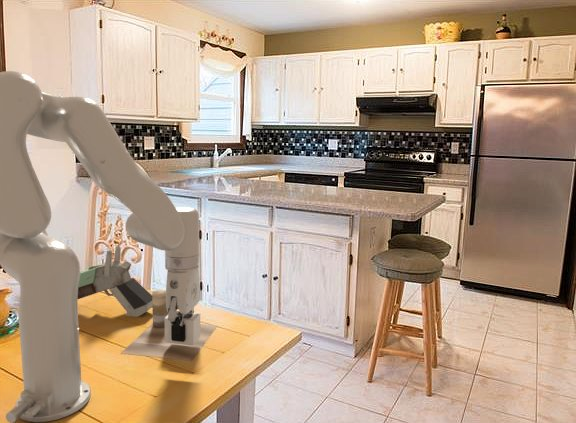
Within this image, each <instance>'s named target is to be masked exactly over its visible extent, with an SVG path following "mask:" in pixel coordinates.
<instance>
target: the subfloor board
mask: <svg viewBox="0 0 576 423" xmlns="http://www.w3.org/2000/svg"><path fill="white" fill-rule="evenodd" d="M217 327H218V325H215V324H203V323H200V338H199V339H198V341H197V342H196V343H195V344H194V345H184V344H174V343H165V328H154V327H153V323H151V324H150V325H149V326H148V327H147V328H146V329H145V330H143V332H142V333H141V334H140V335H139V336H137V337H136V338H135V339H134V340H133V341H132V342H131V343H129V345H127V346H126V347H125V349H123V350H122V351H121V353H120V354H123V355H133V356H141V357H151V358H152V357H153V358H161V359H169V360H179V361H188V362H193V360H194V359H195V358H196V356H197V355H198V354H199V352H200V351H201V349H202V348H203V347H204V346H205V344H206V342H207V341H208V340H209V339H210V337H211V336H212V334H213V333H214V331H215V330H216V329H217Z"/></svg>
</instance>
